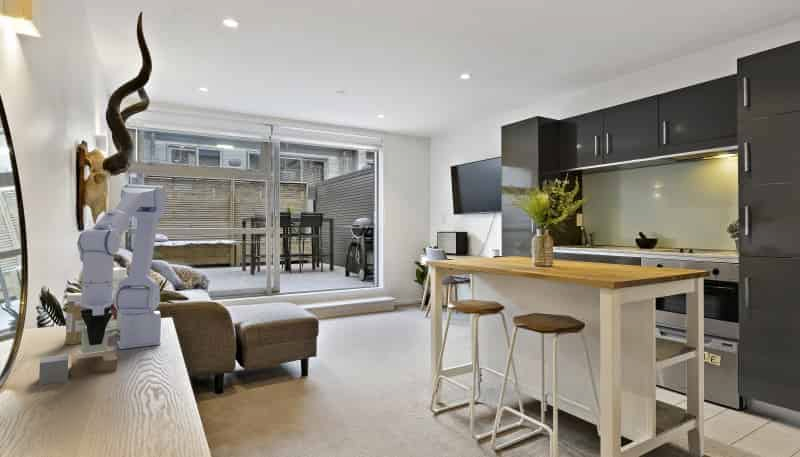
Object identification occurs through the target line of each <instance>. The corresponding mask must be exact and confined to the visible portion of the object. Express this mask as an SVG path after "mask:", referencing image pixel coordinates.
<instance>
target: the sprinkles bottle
mask: <svg viewBox="0 0 800 457" xmlns="http://www.w3.org/2000/svg"><path fill="white" fill-rule="evenodd" d="M81 293H82V292H74V293H73V292H72V293H71V292H70V293H67V295H66V304H67V305H66V315H65V316H66V317H65V318H66V320H65V332H66V333H65V341H64V343H65V344H66V345H77V344H79V345H80V344H82V329H86V328H87V327H86V324H85V322H84V320H83V319H82V317H81V314H82V313H81V311H80V310H82V309H87V308H85V307H81V306H74V304H75V302H81Z"/></svg>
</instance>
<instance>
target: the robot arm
mask: <svg viewBox="0 0 800 457" xmlns="http://www.w3.org/2000/svg"><path fill="white" fill-rule="evenodd" d="M119 198H120V200H119V202H118V204H117V205H116V207H115V208H114V209H111V210H107V212H105V213H104V215H102V216H101V217H100V219H99V220H98V222H96V224H94V226H93V227H92V228H87V229H86V230H84V231H82V232H81V233H79V236H78V240H77V241H76V244H77V249H78V252H79V259H80V262H82V273H81V274H82V275H81V292H80V293H81V302H75V304H74V306H81V307H85V308H86V309H82V310H80V311H81V313H82V314H81V317H82V319H83V320H84V322H85V324H86V328H87V332H88V339H89V344H90V345H99V344H102V341H103V338H104V333H105V330H106V326H107V324H108V322H109V320H110V318H111V317H112V315H113V313H109V311H110V307H108V306H110V305H112V304H113V303H114V307H115V308H116V309H117V310H119V312H118V313H121V331H120V335H119V337H120V338H119V340H117V341H116V344H117V347H118V348H119V350H124V349H133V348H141V347H149V346H158V345H161V329H162V326H161V325H162V316H161V312H160V310H157V308H158V307H159V305H160V302H161V301H160V300H161V293H160V291H161V290H160V288H161V287H160V284H159V282H158V281H157V280H155V279H154V278H153V277H152V276H151V271H152V265H153V259H154V258H153V256H154V251H155V250H154V249H155V242H156V235H157V228H158V221H159V219H160V218H162V217H164V215H165V211H166V205H167V192H166V189H165V188H164V186H162V185H149V184H148V185H146V184H145V185H144V184H131V183H125V184H124V185H123V186H122V188H121V190H120V196H119ZM131 217H134V218H135V219H136V221H137V222H136V223H137V224H136V230H135V236H134V244H133V250H132V255H131V261H130V262H131V263H130V268H129V275H128V276H126V278H125V279H123V280H122V281H120V282H119V283H118V287H117V290H116V292H115V295H114V299H113V300H112V288H113V267H114V260H115V257H114V256H115V254H116V253H118V252H119V250H120V246H121V242H122V240H123V238H122V236H123V235H124V233H126V231H127V229H128V228H129V226H131V221H130V218H131ZM131 287H145V288H131Z"/></svg>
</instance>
